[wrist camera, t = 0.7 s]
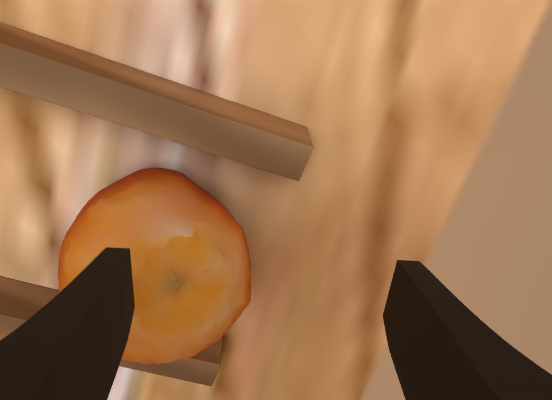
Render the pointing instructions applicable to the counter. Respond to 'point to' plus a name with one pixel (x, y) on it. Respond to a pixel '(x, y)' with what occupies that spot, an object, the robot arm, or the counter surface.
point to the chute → (150, 119)
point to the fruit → (166, 261)
